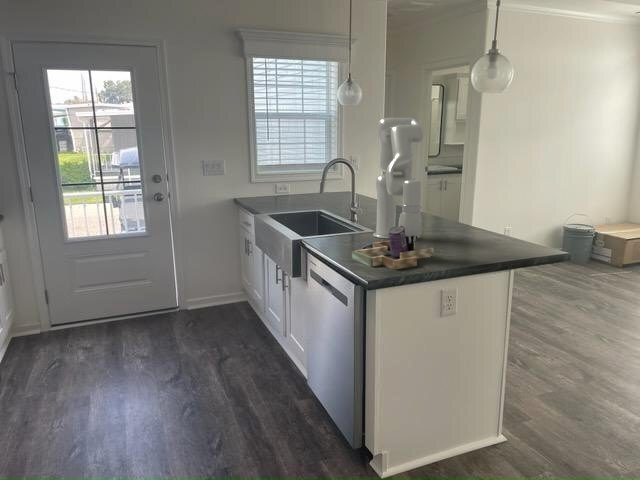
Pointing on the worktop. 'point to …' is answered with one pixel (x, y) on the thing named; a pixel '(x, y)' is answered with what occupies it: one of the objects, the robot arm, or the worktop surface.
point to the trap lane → (381, 249)
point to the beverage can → (397, 241)
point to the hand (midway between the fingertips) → (409, 251)
